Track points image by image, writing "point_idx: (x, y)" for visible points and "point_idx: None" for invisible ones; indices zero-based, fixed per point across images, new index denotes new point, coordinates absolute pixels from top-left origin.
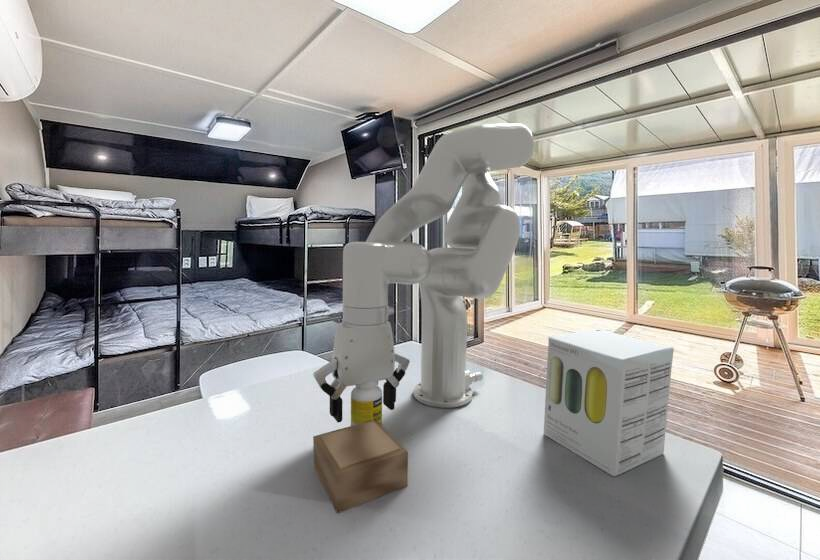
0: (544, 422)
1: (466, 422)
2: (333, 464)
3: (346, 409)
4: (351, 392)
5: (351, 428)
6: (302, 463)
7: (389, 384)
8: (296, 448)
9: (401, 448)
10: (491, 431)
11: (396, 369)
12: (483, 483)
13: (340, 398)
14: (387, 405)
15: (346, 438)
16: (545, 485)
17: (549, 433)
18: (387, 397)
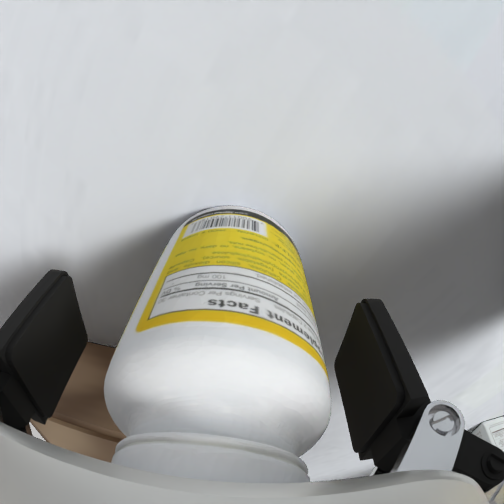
0: (487, 439)
1: (476, 365)
2: None
3: (249, 24)
4: (104, 389)
5: (99, 439)
6: (23, 299)
7: (379, 455)
8: (5, 231)
9: None
10: (461, 402)
11: (481, 485)
12: (313, 467)
13: (39, 418)
14: (344, 349)
15: (84, 449)
16: (365, 476)
17: (476, 435)
18: (355, 382)
